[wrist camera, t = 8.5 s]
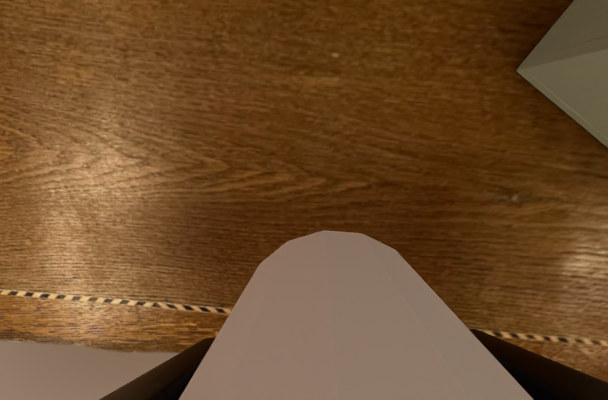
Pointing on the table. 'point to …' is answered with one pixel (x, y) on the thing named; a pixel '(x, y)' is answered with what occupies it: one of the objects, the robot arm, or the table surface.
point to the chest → (575, 65)
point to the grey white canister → (345, 333)
